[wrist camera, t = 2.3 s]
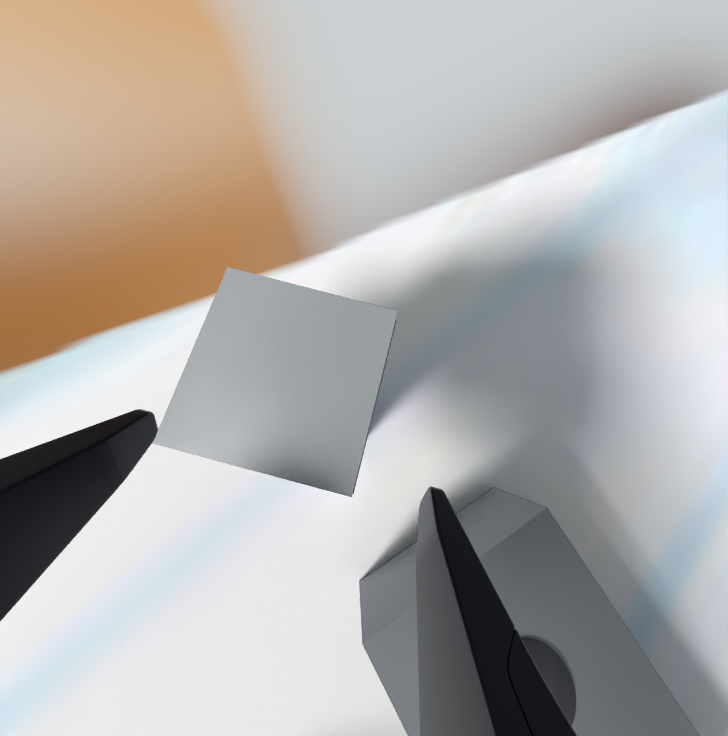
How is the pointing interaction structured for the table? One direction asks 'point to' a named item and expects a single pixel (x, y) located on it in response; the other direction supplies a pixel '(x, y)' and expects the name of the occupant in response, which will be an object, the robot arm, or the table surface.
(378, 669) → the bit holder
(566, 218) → the table surface
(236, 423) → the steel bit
